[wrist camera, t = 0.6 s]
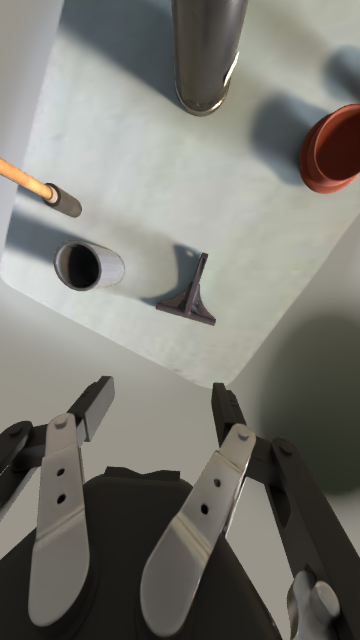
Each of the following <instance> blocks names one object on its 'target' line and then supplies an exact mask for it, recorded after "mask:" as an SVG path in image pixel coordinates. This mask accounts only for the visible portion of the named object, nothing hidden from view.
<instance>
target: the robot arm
mask: <svg viewBox="0 0 360 640" xmlns="http://www.w3.org/2000/svg"><path fill="white" fill-rule="evenodd" d="M171 4H172V23H173V43H174V64H175V89H176V94H177V97H178V99H179V101H180V103H181V105H182V106H183V108H184V109H185V110H186V111H188V112H189V113H190V114H193V115H195V116H206V115H209V114H211V113H213V112H214V111H215V110H217V109H218V108H219V107H220V105H221V104H222V102H223V101H224V99H225V97H226V95H227V92H228V88H229V84H230V79H231V72H232V70H233V68H234V66H235V64H236V62H237V58H238V54H237V56H236V52H237V47H238V43H239V39H240V34H241V30H242V26H243V21H244V17H245V13H246V8H247V4H248V0H171ZM238 53H239V52H238ZM235 56H236V58H235ZM114 393H115V392H114V381H113V377H112V376H102V377H101V378H100V379H99V381H98V382H94V383H93V384H91V385H90V386H88V387H87V388H86V390H85V391H84V393H82V394H81V396H80V397H79V398H78V399H77V400H76V402H75V403H74V404H73V405H72V406H71V408H70V409H69V410H68V411H67V412H66V413H64V414H61V415H59V416H57V417H55V418H54V419H52V420H51V422H49V424H45V425H41V426H36V427H33V425H32V423H31V422H30V421H21V422H18V423H16V424H13V425H12V426H10V427H8V428H7V429H6V430H4V431H3V432H2V433H1V434H0V474H1V473H2V471H4V472H3V473H2V474H1V475H0V521H1V520H2V519H3V517H4V516H5V514H6V513H7V511H8V510H9V508H10V507H11V505H12V504H13V503H14V501H15V500H16V498H17V497H18V495H19V494H20V492H21V491H22V490H23V488H24V487H25V485H26V484H27V482H28V481H29V479H30V478H31V477H32V475H33V474H34V472H35V471H36V469H37V468H38V467H39V466H41V477H40V490H39V504H38V518H37V527H36V528H35V529H34V530H33V531H32V532H31V533H29V534H28V535H27V536H26V537H25V538H24V539H23V540H22V541H21V542H20V543H18V544H17V545H16V546H15V547H14V548H13V549H12V550H11V551H10V552H9V553H8V554H6V555H5V556H4V557H3V558H2V559H1V560H0V640H282V637H281V635H280V633H279V630H278V628H277V626H276V624H275V622H274V620H273V618H272V616H271V614H270V613H269V611H268V609H267V607H266V606H265V604H264V603H263V601H262V599H261V597H260V596H259V594H258V593H257V591H256V589H255V587H254V586H253V584H252V582H251V580H250V579H249V577H248V576H247V574H246V572H245V570H244V569H243V567H242V565H241V564H240V562H239V560H238V559H237V557H236V555H235V554H234V552H233V550H232V548H231V547H230V545H229V543H228V542H227V540H226V536H227V533H228V531H229V528H230V525H231V522H232V519H233V515H234V512H235V509H236V506H237V503H238V500H239V497H240V495H241V492H242V489H243V486H244V483H245V480H246V477H249V478H252V479H254V480H256V481H258V482H261V483H263V484H264V486H265V489H266V492H267V495H268V499H269V501H270V505H271V508H272V511H273V514H274V517H275V521H276V524H277V527H278V530H279V534H280V537H281V540H282V543H283V546H284V549H285V552H286V556H287V559H288V562H289V565H290V568H291V572H292V575H293V578H294V581H293V583H292V585H291V587H290V589H289V591H288V594H287V609H288V614H289V620H290V627H291V637H290V640H360V557H359V556H358V554H357V552H356V550H355V549H354V547H353V545H352V543H351V542H350V540H349V538H348V536H347V534H346V533H345V531H344V529H343V528H342V526H341V524H340V522H339V521H338V519H337V517H336V515H335V513H334V512H333V510H332V508H331V506H330V505H329V503H328V501H327V499H326V497H325V496H324V494H323V492H322V491H321V489H320V487H319V485H318V483H317V482H316V480H315V478H314V476H313V474H312V473H311V471H310V469H309V467H308V466H307V464H306V462H305V460H304V459H303V457H302V455H301V453H300V452H299V450H298V449H297V447H296V446H295V445H294V444H293V443H291V442H290V441H288V440H287V439H284V438H280V437H277V438H274V439H273V440H272V442H270V441H268V440H265V439H262V438H260V437H258V436H256V435H255V434H254V432H253V431H252V430H251V429H250V428H249V427H248V426H247V425H246V422H245V419H244V417H243V414H242V412H241V409H240V407H239V404H238V402H237V399H236V396H235V395H234V394H233V393H232V391H231V390H226V389H225V386H224V383H213V391H212V400H211V404H212V411H213V416H214V421H215V426H216V432H217V437H218V442H219V448H220V449H219V450H218V451H215V452H214V453H213V455H212V457H211V458H210V460H209V462H208V463H207V465H206V467H205V469H204V470H203V472H202V474H201V476H200V477H199V479H198V481H197V482H196V484H195V485H194V487H193V486H192V485H190V484H189V483H188V482H186V481H185V480H183V479H180V471H169V470H167V471H166V470H161V471H156V472H152V473H147V474H139V473H137V472H134V471H132V470H129V469H127V468H124V467H108V466H107V468H106V470H105V473H104V474H101V475H99V476H96V477H94V478H92V479H91V480H89V481H87V482H86V483H85V478H84V470H83V463H82V455H81V448H80V446H81V445H82V443H83V441H84V442H90V441H91V439H92V437H93V435H94V434H95V432H96V430H97V428H98V426H99V425H100V423H101V421H102V419H103V417H104V415H105V414H106V412H107V410H108V408H109V407H110V405H111V403H112V401H113V399H114ZM8 465H9V466H8ZM7 466H8V467H7ZM6 467H7V468H6ZM5 468H6V469H5ZM4 469H5V470H4Z"/></svg>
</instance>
